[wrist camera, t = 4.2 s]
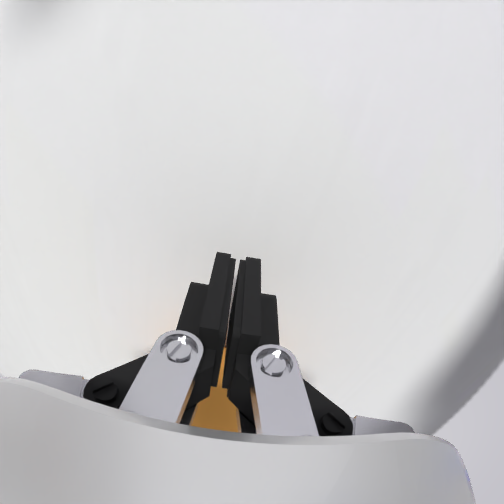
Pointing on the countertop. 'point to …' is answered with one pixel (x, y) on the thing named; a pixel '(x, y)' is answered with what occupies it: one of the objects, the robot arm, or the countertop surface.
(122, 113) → the countertop surface
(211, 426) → the ball
